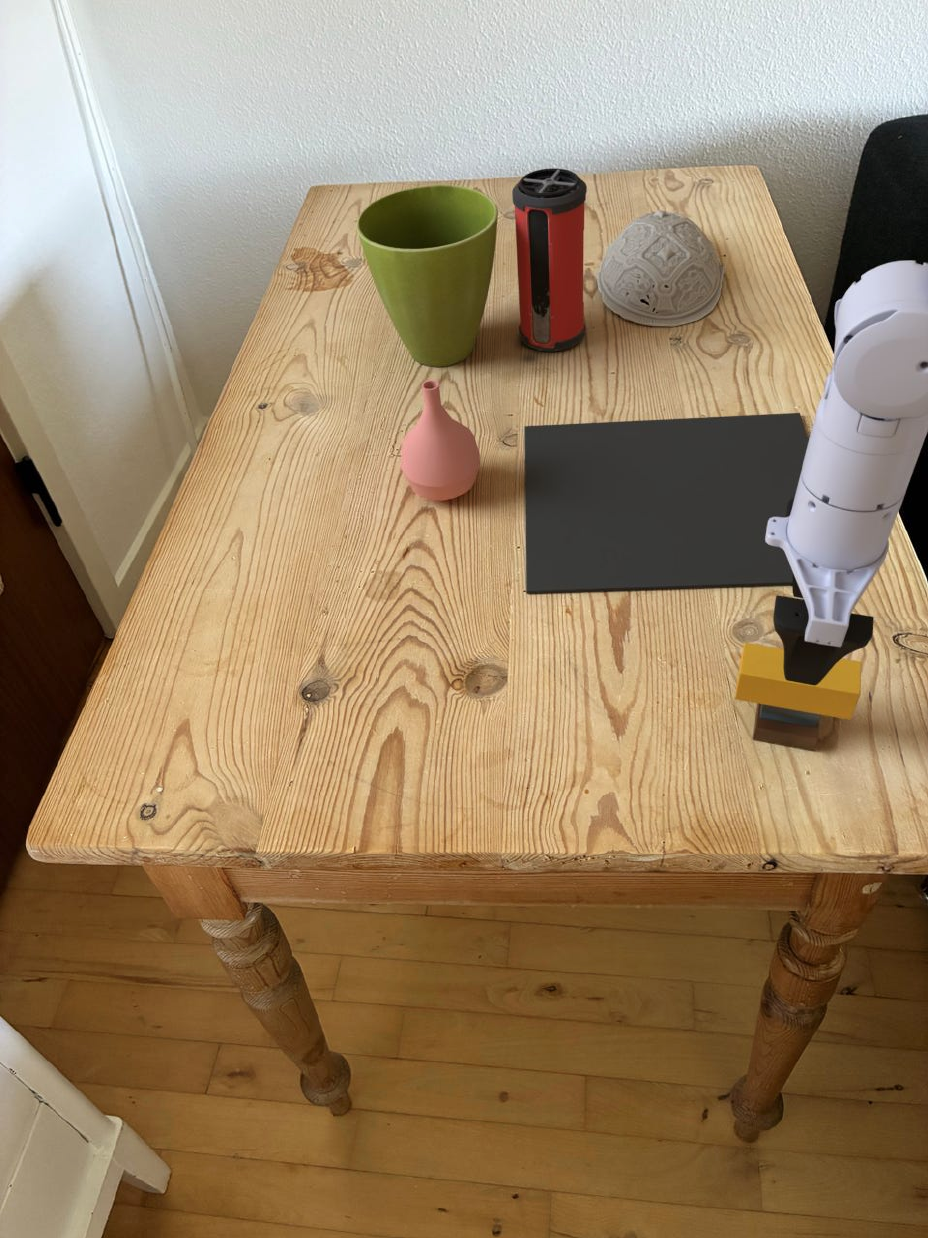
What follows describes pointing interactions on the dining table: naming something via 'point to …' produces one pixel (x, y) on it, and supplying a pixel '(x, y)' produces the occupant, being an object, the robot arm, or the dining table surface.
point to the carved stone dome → (661, 271)
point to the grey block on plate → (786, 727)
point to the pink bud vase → (439, 451)
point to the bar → (797, 684)
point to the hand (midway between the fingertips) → (805, 635)
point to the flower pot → (432, 266)
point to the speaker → (550, 258)
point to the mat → (659, 502)
